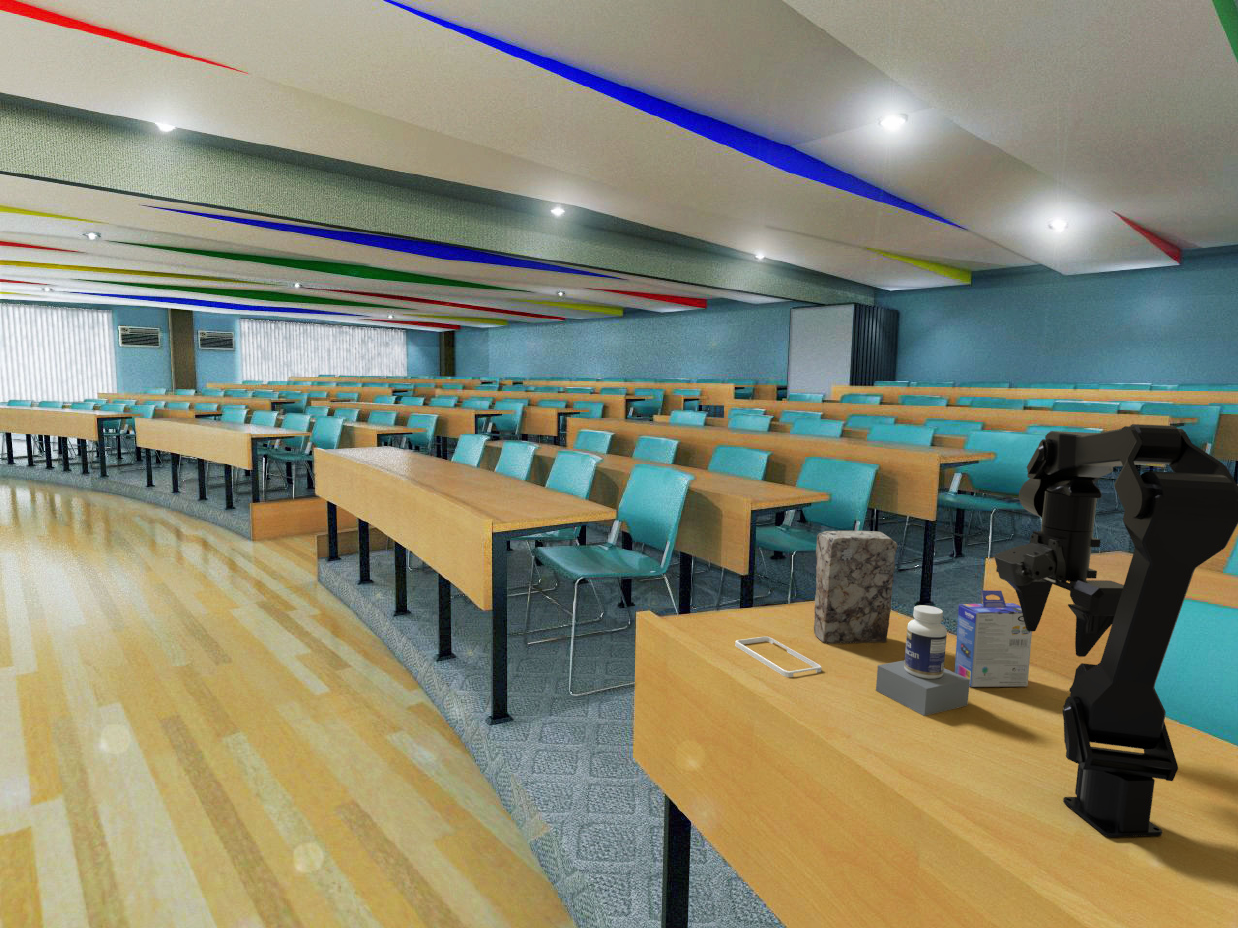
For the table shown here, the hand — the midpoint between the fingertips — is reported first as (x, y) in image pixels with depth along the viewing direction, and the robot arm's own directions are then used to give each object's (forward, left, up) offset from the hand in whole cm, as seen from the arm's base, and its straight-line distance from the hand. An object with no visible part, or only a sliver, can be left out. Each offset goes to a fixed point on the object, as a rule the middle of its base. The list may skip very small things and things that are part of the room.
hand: (1054, 642), depth 93 cm
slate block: (+12, +11, -13) cm, 21 cm away
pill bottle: (+12, +11, -9) cm, 19 cm away
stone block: (+37, +11, -13) cm, 41 cm away
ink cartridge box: (+18, -4, -13) cm, 23 cm away
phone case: (+28, +28, -14) cm, 42 cm away
